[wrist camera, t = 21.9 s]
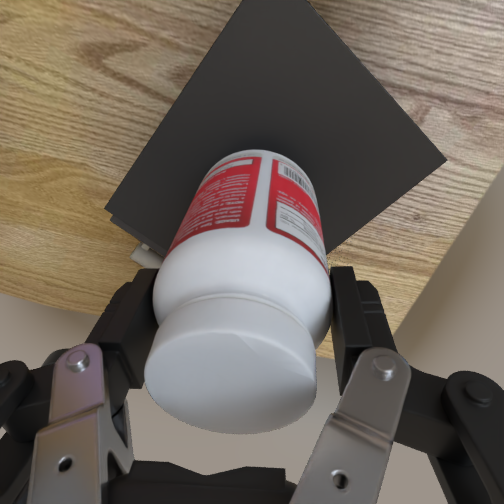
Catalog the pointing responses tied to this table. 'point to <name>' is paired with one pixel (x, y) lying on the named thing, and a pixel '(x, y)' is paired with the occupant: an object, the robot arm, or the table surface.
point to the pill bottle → (242, 300)
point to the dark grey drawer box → (280, 125)
